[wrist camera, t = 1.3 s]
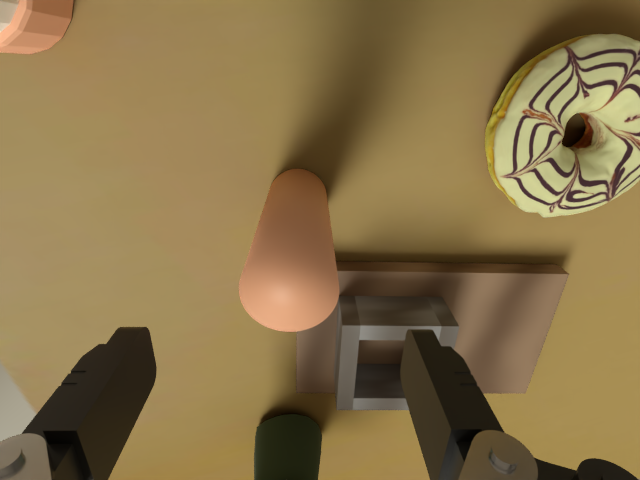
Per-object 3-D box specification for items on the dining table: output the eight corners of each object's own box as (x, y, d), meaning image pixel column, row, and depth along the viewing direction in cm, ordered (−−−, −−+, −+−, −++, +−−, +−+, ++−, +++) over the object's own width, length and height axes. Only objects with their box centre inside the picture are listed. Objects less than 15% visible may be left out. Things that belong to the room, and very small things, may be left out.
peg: (327, 169, 25) (342, 247, 14) (325, 224, 26) (336, 332, 16) (268, 167, 25) (235, 245, 14) (269, 223, 26) (241, 331, 15)
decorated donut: (580, 220, 27) (619, 242, 24) (448, 181, 26) (470, 199, 22) (675, 71, 23) (739, 72, 19) (524, 14, 21) (565, 4, 18)
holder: (556, 264, 28) (603, 301, 24) (516, 380, 33) (549, 428, 29) (297, 260, 28) (295, 298, 23) (296, 379, 33) (294, 429, 28)
